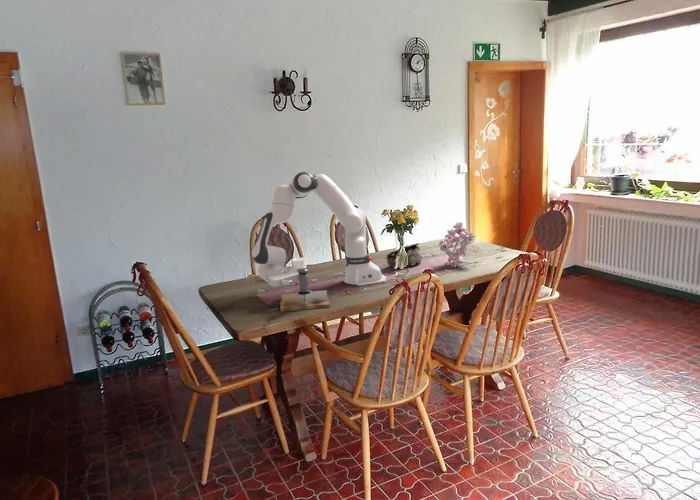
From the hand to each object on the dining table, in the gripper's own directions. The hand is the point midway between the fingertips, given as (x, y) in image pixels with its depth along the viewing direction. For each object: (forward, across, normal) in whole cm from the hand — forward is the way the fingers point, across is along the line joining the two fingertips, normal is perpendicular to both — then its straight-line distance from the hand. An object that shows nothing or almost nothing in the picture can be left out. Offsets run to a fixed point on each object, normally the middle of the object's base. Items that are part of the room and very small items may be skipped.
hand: (298, 280), depth 252 cm
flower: (+17, +101, +12) cm, 103 cm away
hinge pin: (+4, 0, +10) cm, 11 cm away
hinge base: (+4, 0, +12) cm, 12 cm away
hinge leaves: (+4, 0, +10) cm, 11 cm away
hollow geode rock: (-7, +82, +12) cm, 83 cm away
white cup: (-39, +31, +12) cm, 51 cm away
